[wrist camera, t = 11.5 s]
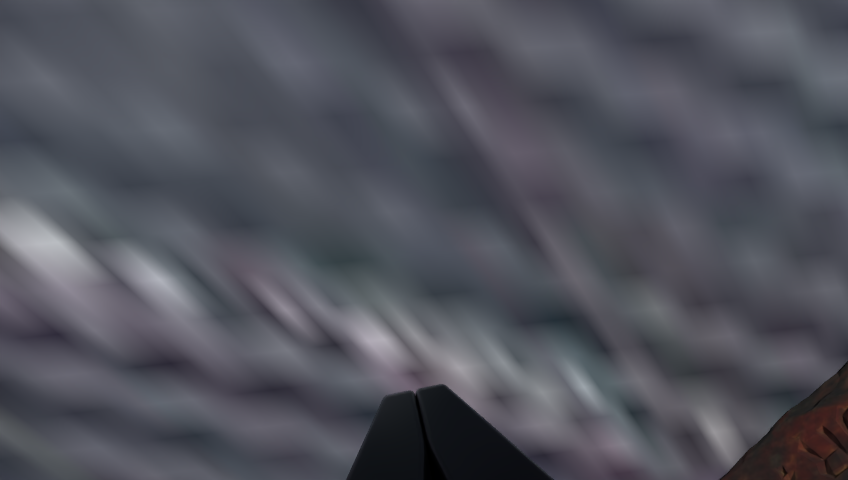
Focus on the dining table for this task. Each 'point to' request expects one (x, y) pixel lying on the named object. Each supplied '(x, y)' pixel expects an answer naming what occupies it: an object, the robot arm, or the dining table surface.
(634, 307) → the dining table surface
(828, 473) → the brown wedge block
